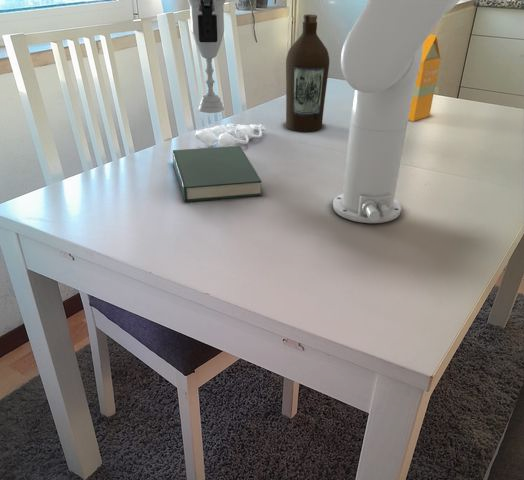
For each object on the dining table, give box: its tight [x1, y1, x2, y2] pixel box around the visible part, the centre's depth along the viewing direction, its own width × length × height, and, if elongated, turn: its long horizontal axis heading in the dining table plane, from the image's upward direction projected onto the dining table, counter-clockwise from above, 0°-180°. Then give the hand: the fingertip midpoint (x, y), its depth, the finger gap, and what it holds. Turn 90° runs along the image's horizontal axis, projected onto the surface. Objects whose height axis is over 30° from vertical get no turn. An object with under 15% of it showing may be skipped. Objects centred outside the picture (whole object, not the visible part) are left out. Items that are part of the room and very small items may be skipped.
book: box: [171, 145, 262, 203], centre depth 112 cm, size 21×15×3 cm
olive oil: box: [285, 13, 330, 133], centre depth 134 cm, size 11×11×25 cm
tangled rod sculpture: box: [194, 123, 267, 147], centre depth 131 cm, size 19×14×4 cm
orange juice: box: [408, 33, 442, 122], centre depth 145 cm, size 8×9×20 cm
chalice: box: [186, 0, 226, 114], centre depth 98 cm, size 7×7×18 cm
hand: (208, 37), depth 96 cm, fingers closed on chalice, 6 cm apart
